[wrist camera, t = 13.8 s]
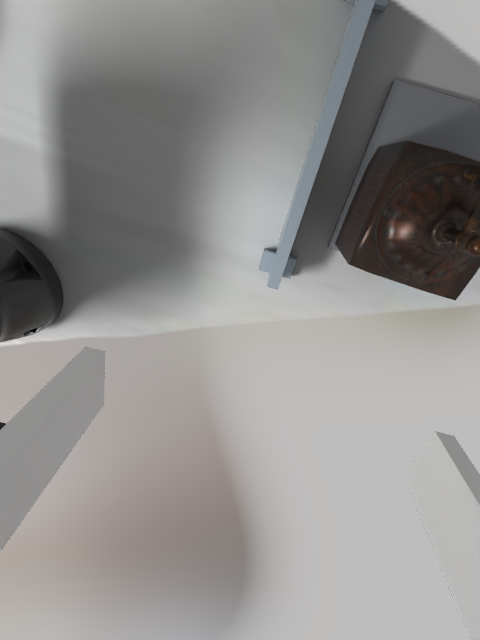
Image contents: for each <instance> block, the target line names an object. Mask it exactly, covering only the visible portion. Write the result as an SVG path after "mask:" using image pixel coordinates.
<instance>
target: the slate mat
mask: <svg viewBox="0 0 480 640" xmlns="http://www.w3.org/2000/svg"><path fill="white" fill-rule="evenodd" d="M407 140H408V141H412V142H415V143H420V144H424V145H429V146H434V147H439V148H444V149H447V150H449V151H452V152H455V153H458V154H460V155H463V156H466V157H468V158H471V159H474V160H477V161H480V104H477V103H474V102H471V101H467V100H464V99H460V98H457V97H453V96H450V95H446V94H443V93H440V92H436V91H433V90H429V89H426V88H422V87H419V86H415V85H412V84H409V83H405V82H402V81H398V80H394V81H393V82H392V85H391V88H390V90H389V93H388V95H387V98H386V100H385V103H384V105H383V108H382V110H381V113H380V115H379V118H378V121H377V123H376V126H375V128H374V131H373V133H372V136H371V138H370V141H369V143H368V146H367V148H366V151H365V154H364V156H363V159H362V161H361V164H360V166H359V169H358V171H357V174H356V176H355V179H354V181H353V184H352V187H351V189H350V192H349V194H348V197H347V199H346V202H345V204H344V207H343V209H342V212H341V214H340V217H339V220H338V222H337V225H336V227H335V230H334V232H333V235H332V237H331V240H330V242H329V245H328V248H331V249H334V250H338V251H340V250H339V249H338V247H337V246H336V245H335V242H336V239H337V237H338V234H339V232H340V229H341V227H342V224H343V222H344V219H345V216H346V214H347V211H348V209H349V206H350V204H351V202H352V199H353V197H354V195H355V192H356V190H357V188H358V185H359V183H360V181H361V179H362V176H363V174H364V172H365V170H366V168H367V165H368V163H369V162H370V160H371V158H372V157H373V155H374V153H375V152H376V150H377V148H378V147H379V146H386V145H390V144H394V143H398V142H401V141H407Z"/></svg>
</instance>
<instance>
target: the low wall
mask: <svg viewBox="0 0 480 640" xmlns="http://www.w3.org/2000/svg"><path fill="white" fill-rule="evenodd" d="M345 1H348V2H352V3H354V6H353V10H352V13H351V16H350V19H349V22H348V25H347V28H346V32H345V35H344V38H343V41H342V44H341V47H340V51H339V54H338V57H337V60H336V63H335V66H334V70H333V73H332V76H331V79H330V82H329V85H328V89H327V92H326V95H325V98H324V101H323V104H322V108H321V111H320V114H319V117H318V120H317V123H316V127H315V130H314V133H313V136H312V139H311V142H310V145H309V149H308V152H307V155H306V158H305V161H304V164H303V168H302V171H301V174H300V177H299V180H298V183H297V187H296V190H295V193H294V196H293V199H292V202H291V206H290V209H289V212H288V215H287V218H286V221H285V225H284V228H283V231H282V234H281V237H280V240H279V243H278V247H277V250H276V252H275V251H271V250H268V249H264V252H263V256H262V259H261V263H260V266H259V270H262V271H265V272H269V278H268V284H267V287H270V288H274V289H277V290H278V287H279V284H280V281H281V278H282V277H286V278H289V279H290V278H291V275H292V273H293V270H294V267H295V264H296V261H297V258H295V257H292V256H289V254H290V251H291V248H292V245H293V242H294V240H295V237H296V234H297V231H298V228H299V225H300V222H301V219H302V216H303V213H304V210H305V207H306V204H307V201H308V198H309V195H310V192H311V189H312V186H313V183H314V181H315V178H316V175H317V172H318V169H319V166H320V163H321V160H322V157H323V154H324V151H325V148H326V145H327V142H328V139H329V136H330V133H331V130H332V127H333V124H334V121H335V119H336V116H337V113H338V110H339V107H340V104H341V101H342V98H343V95H344V92H345V89H346V86H347V83H348V80H349V77H350V74H351V71H352V68H353V65H354V62H355V60H356V57H357V54H358V51H359V48H360V45H361V42H362V39H363V36H364V33H365V30H366V27H367V24H368V21H369V18H370V15H371V12H372V9H376V10H379V11H384V10H385V8H386V7H387V4H388V1H389V0H345Z"/></svg>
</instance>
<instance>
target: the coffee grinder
mask: <svg viewBox="0 0 480 640" xmlns="http://www.w3.org/2000/svg"><path fill="white" fill-rule="evenodd" d="M335 245H336V246H337V247H338V249H339V250H340V252H341V254H342V255H343V257H344V258H345V260H346V261H347V263H348V264H350V265H352V266H355V267H357V268H360V269H362V270H364V271H367V272H369V273H372V274H375V275H378V276H381V277H384V278H387V279H390V280H393V281H396V282H399V283H402V284H405V285H408V286H411V287H414V288H417V289H419V290H422V291H426V292H429V293H432V294H436V295H439V296H443V297H446V298H450V299H453V300H456V299H457V298H458V296H459V295H460V294H461V292H462V291H463V289H464V288H465V287H466V285H467V284H468V283H469V281H470V280H471V279H472V277H473V276H474V275H475V273H476V272H477V270H478V269H479V267H480V161H477V160H474V159H471V158H468V157H466V156H463V155H460V154H458V153H455V152H452V151H449V150H447V149H444V148H439V147H434V146H429V145H424V144H420V143H415V142H412V141H408V140H407V141H401V142H398V143H394V144H390V145H386V146H379V147H378V148H377V150H376V152H375V153H374V155H373V157H372V158H371V160H370V162H369V163H368V165H367V168H366V170H365V172H364V174H363V176H362V179H361V181H360V183H359V185H358V188H357V190H356V192H355V195H354V197H353V199H352V202H351V204H350V206H349V209H348V211H347V214H346V216H345V219H344V222H343V224H342V227H341V229H340V232H339V234H338V237H337V239H336V242H335Z"/></svg>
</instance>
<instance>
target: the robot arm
mask: <svg viewBox="0 0 480 640" xmlns="http://www.w3.org/2000/svg"><path fill="white" fill-rule="evenodd" d="M62 301H63V297H62V289H61V285H60V282H59V279H58V276H57V274H56V272H55V270H54V269H53V267H52V265H51V264H50V262H49V261H48V260H47V258H46V257H45V256H44V255H43V254H42V253H41V252H40V251H39V250H38V249H37V248H36V247H35V246H34V245H33V244H31V243H30V242H29V241H27V240H26V239H24V238H22V237H21V236H19V235H17V234H15V233H12V232H10V231H6V230H3V229H0V342H4V341H8V340H13V339H17V338H21V337H25V336H29V335H33V334H35V333H37V332H40V331H41V330H43V329H44V328H46V327H47V326H49V325H50V324H51V323H53V322H54V321H55V320H56V318H57V317H58V315H59V313H60V311H61V308H62ZM104 374H105V351H101V350H96V349H93V348H88V347H85V348H84V349H83V350H82V351H81V352H80V353H79V354H78V355H77V356H75V358H73V359H72V361H71V362H69V363H68V364H67V365H66V366H65V367H64V368H63V369H62V370H61V371H60V372H59V373H58V374H57V375H56V376H55V377H54V378H53V379H52V380H51V381H50V382H49V383H48V384H47V385H46V386H45V387H44V388H43V389H42V390H41V391H40V392H39V393H38V394H37V395H36V396H35V397H34V398H32V400H30V402H28V403H27V404H26V405H25V406H24V407H23V408H22V410H20V411H19V412H18V413H17V414H16V415H15V416H14V417H13V418H12V419H11V420H10V421H9V422H8V423H7V424H5V423H1V422H0V551H1V550H2V549H3V547H4V546H5V544H6V543H7V542H8V540H9V539H10V537H11V536H12V534H13V533H14V532H15V530H16V529H17V527H18V526H19V525H20V523H21V522H22V520H23V519H24V517H25V516H26V515H27V513H28V512H29V510H30V509H31V507H32V506H33V505H34V503H35V502H36V500H37V499H38V498H39V496H40V495H41V493H42V492H43V490H44V489H45V488H46V486H47V484H48V483H49V482H50V480H51V479H52V478H53V476H54V475H55V473H56V472H57V470H58V469H59V468H60V466H61V465H62V463H63V462H64V461H65V459H66V458H67V456H68V455H69V453H70V452H71V450H72V449H73V448H74V446H75V445H76V443H77V442H78V440H79V439H80V438H81V436H82V435H83V433H84V432H85V431H86V429H87V428H88V426H89V425H90V424H91V422H92V420H93V419H94V418H95V416H96V415H97V414H98V412H99V411H100V409H101V408H102V406H103V405H104ZM403 478H404V480H405V483H406V485H407V488H408V490H409V493H410V495H411V497H412V500H413V502H414V505H415V507H416V510H417V512H418V515H419V517H420V519H421V522H422V524H423V527H424V529H425V532H426V534H427V536H428V539H429V541H430V544H431V546H432V549H433V551H434V553H435V556H436V558H437V560H438V563H439V566H440V568H441V571H442V573H443V575H444V578H445V580H446V583H447V585H448V588H449V590H450V592H451V595H452V597H453V600H454V602H455V604H456V607H457V610H458V612H459V614H460V617H461V619H462V622H463V624H464V627H465V629H466V632H467V634H468V636H469V639H470V640H480V474H479V473H478V471H477V470H476V468H475V467H474V465H473V464H472V463H471V461H470V459H469V458H468V456H467V455H466V453H465V452H464V450H463V449H462V447H461V446H460V444H459V443H458V441H457V440H456V438H455V437H454V436H452V435H447V434H443V433H440V432H434V434H433V435H432V437H431V438H430V439H429V441H428V442H427V444H426V445H425V446H424V448H423V449H422V450H421V452H420V453H419V455H418V456H417V457H416V459H415V460H414V461H413V463H412V464H411V465H410V467H409V468H408V470H407V471H406V472H405V474H404V475H403Z"/></svg>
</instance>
